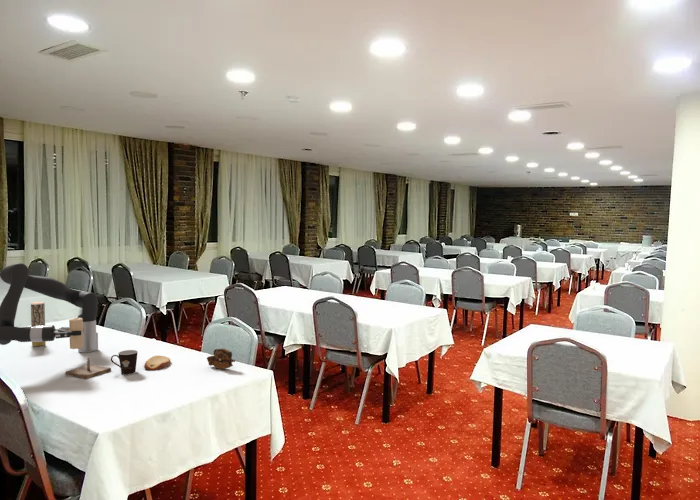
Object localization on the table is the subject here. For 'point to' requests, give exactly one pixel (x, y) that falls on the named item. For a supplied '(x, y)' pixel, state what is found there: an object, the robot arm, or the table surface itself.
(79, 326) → the cylinder
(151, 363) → the pita bread
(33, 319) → the paper tube
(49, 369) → the table surface
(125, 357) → the coffee mug
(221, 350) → the wooden carving
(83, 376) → the stand
